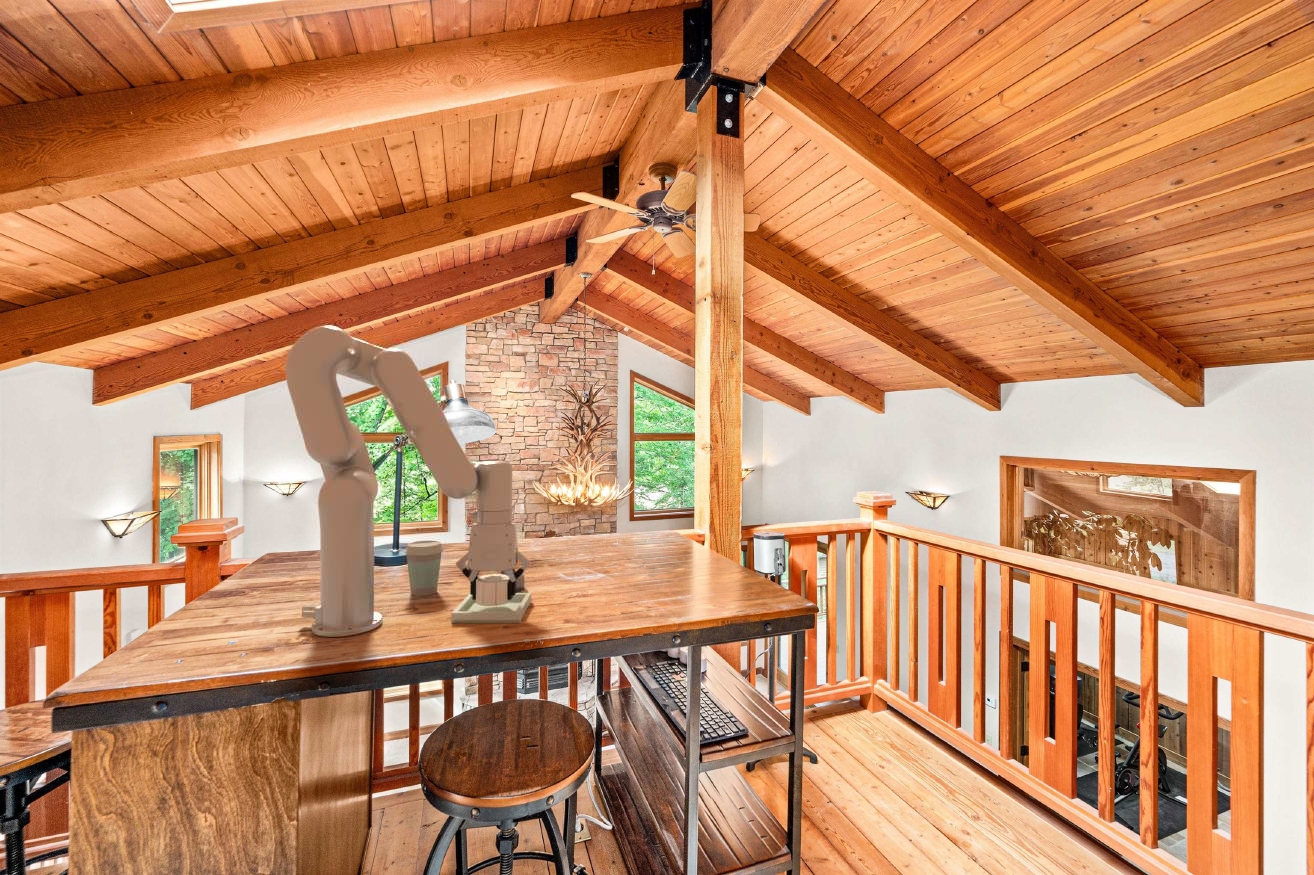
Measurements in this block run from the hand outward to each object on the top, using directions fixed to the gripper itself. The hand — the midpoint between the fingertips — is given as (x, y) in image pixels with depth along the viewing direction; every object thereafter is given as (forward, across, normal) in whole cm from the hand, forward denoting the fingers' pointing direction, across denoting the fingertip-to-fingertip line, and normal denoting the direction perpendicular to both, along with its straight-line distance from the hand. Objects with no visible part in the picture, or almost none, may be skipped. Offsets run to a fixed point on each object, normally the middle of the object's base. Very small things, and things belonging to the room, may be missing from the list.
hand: (493, 597), depth 127 cm
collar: (+1, 0, 0) cm, 1 cm away
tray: (+3, 0, 0) cm, 3 cm away
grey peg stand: (+3, -1, +17) cm, 17 cm away
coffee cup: (+3, -20, +14) cm, 25 cm away
